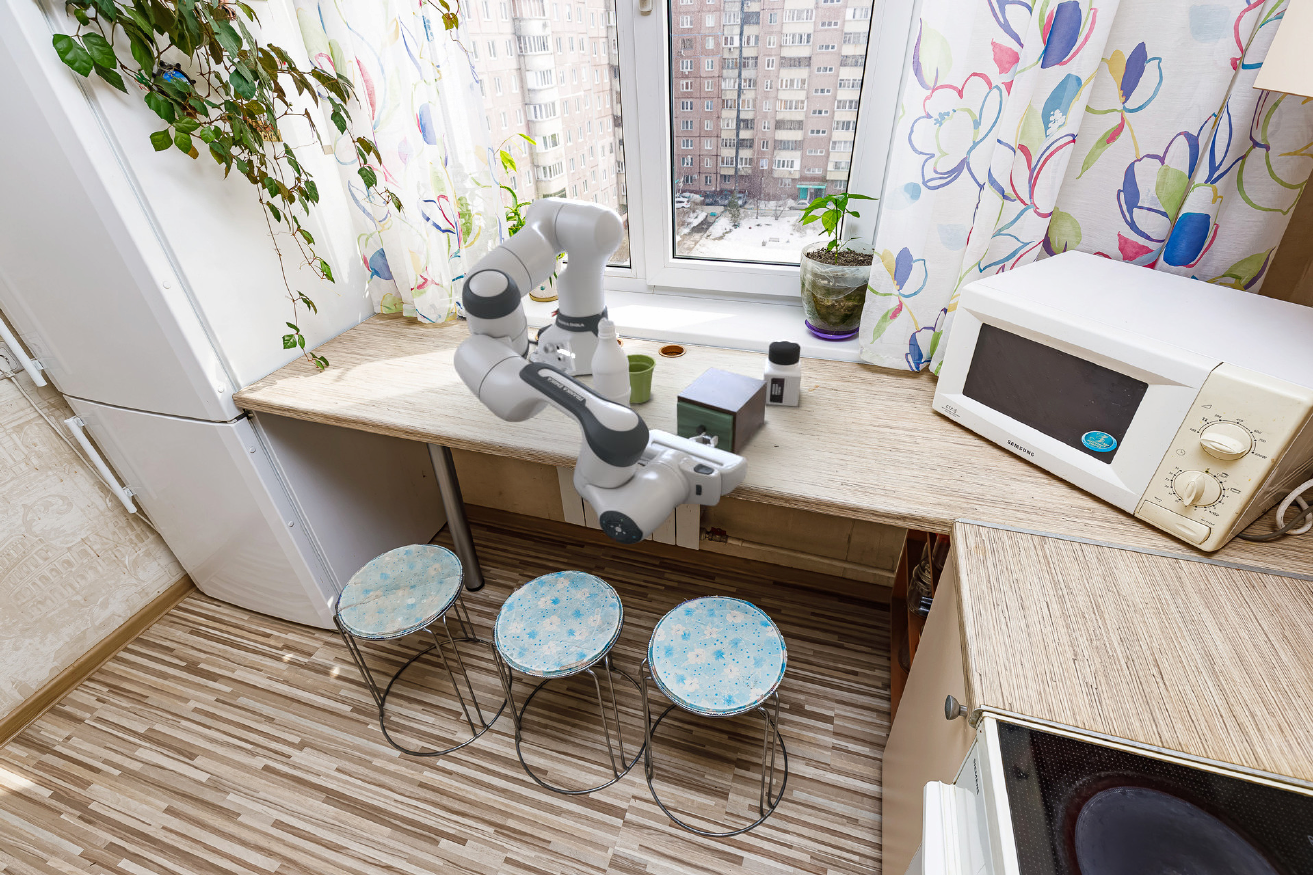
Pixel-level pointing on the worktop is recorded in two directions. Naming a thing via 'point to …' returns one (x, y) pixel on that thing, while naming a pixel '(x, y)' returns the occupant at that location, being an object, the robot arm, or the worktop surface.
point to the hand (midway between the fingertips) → (711, 437)
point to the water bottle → (611, 366)
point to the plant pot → (640, 377)
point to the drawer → (704, 424)
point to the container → (783, 373)
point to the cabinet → (731, 401)
